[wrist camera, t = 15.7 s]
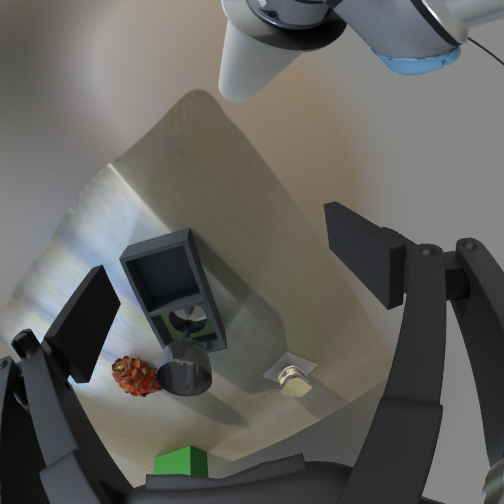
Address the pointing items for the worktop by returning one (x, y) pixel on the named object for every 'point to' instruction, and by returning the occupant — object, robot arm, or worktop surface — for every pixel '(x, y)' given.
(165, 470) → the hardback book
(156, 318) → the divided tray
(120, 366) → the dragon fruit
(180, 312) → the wine glass
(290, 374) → the stacked layers on plate
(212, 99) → the worktop surface
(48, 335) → the robot arm
